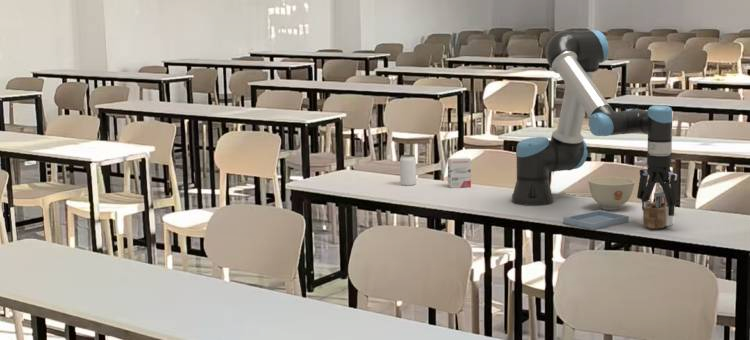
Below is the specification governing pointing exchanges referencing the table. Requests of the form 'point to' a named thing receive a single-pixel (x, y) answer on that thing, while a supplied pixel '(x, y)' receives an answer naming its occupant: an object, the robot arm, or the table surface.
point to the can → (407, 170)
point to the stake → (658, 199)
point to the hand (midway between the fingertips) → (657, 222)
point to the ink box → (459, 172)
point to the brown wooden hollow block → (654, 216)
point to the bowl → (611, 191)
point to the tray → (596, 220)
